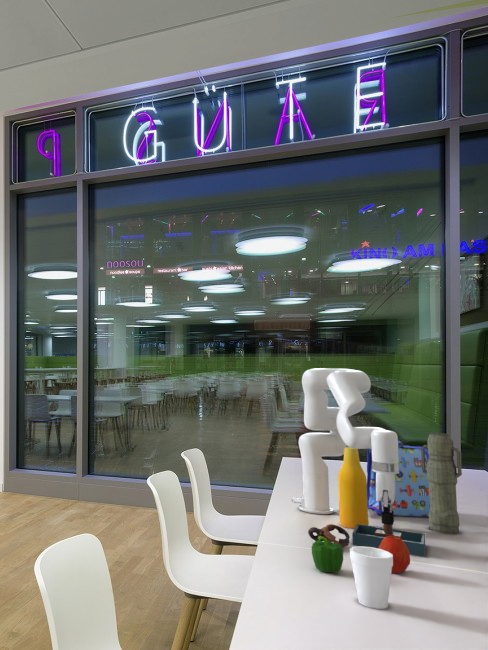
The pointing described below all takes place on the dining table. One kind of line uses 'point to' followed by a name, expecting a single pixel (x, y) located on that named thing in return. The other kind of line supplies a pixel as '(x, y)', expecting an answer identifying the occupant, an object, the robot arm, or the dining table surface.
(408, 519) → the dining table surface
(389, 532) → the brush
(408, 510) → the lunch bag
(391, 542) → the apple
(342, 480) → the beer bottle
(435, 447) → the thermos
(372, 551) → the foam cup
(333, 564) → the bell pepper
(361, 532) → the tray
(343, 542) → the brown twisted loop
